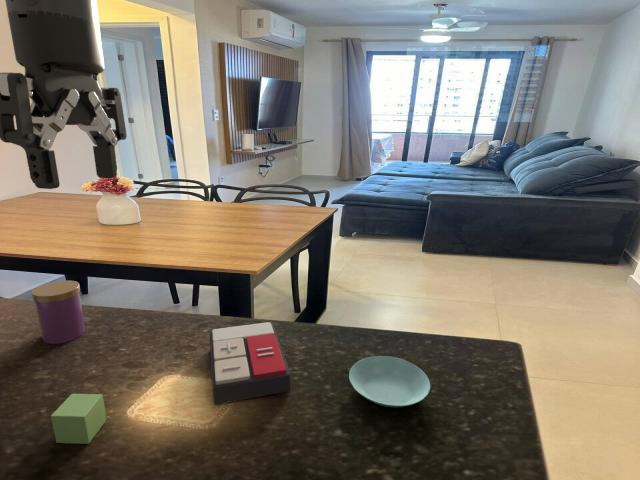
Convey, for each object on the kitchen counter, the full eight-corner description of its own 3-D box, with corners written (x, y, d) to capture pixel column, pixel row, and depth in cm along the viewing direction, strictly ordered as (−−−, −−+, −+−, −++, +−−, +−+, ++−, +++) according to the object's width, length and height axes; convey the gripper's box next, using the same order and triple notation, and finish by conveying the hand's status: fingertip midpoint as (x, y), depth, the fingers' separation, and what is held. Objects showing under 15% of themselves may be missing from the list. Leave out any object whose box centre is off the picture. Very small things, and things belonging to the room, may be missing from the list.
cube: (56, 443, 46) (50, 415, 45) (76, 419, 50) (71, 393, 49) (89, 444, 46) (84, 416, 45) (106, 419, 50) (102, 394, 49)
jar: (35, 335, 69) (25, 288, 67) (77, 321, 74) (70, 277, 72) (49, 349, 65) (39, 300, 62) (93, 333, 70) (85, 287, 68)
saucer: (342, 368, 62) (343, 356, 61) (413, 366, 63) (414, 353, 63) (356, 421, 51) (357, 407, 50) (441, 417, 52) (443, 403, 51)
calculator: (211, 383, 52) (209, 326, 65) (213, 409, 53) (210, 347, 66) (291, 370, 55) (272, 318, 68) (290, 394, 56) (273, 338, 70)
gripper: (77, 35, 45) (96, 174, 49) (-56, -6, 31) (-13, 190, 36) (135, 34, 44) (149, 176, 48) (22, -8, 30) (57, 194, 35)
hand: (80, 182), depth 42 cm, fingers open, 8 cm apart
